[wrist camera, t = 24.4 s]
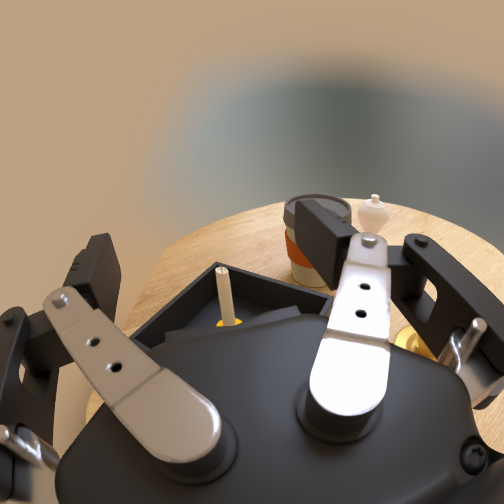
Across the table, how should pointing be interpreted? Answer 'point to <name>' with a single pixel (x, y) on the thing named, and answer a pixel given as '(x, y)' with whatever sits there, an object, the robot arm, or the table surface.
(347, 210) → the reusable coffee cup
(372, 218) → the spinning top
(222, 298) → the candle
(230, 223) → the table surface
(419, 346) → the cup
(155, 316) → the bin
